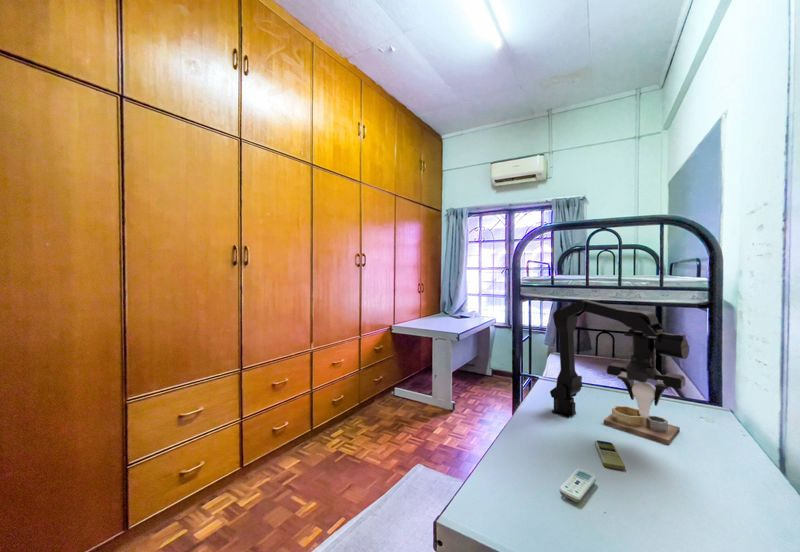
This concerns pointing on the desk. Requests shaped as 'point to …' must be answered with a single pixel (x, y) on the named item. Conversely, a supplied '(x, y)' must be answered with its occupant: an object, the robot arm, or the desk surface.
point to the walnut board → (645, 430)
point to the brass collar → (628, 416)
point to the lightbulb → (644, 397)
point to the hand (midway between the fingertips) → (644, 402)
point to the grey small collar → (657, 423)
